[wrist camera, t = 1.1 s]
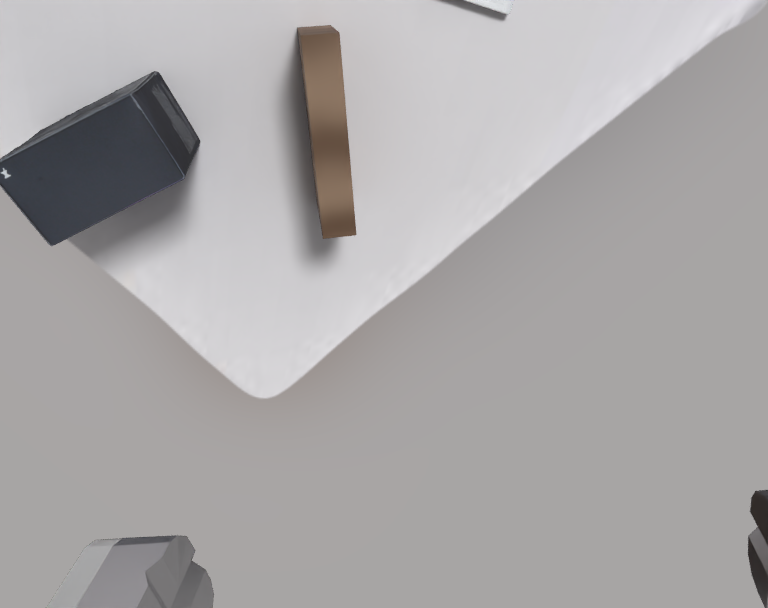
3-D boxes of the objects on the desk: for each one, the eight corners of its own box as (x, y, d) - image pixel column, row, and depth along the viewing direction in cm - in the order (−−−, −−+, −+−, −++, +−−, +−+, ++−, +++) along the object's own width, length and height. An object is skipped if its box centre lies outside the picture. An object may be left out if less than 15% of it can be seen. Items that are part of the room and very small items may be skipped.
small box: (91, 203, 50) (49, 253, 41) (37, 130, 47) (-22, 166, 38) (205, 145, 49) (188, 182, 40) (157, 67, 46) (127, 88, 37)
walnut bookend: (297, 27, 46) (300, 35, 39) (330, 25, 47) (339, 32, 40) (317, 204, 53) (323, 238, 46) (346, 202, 53) (356, 235, 46)
